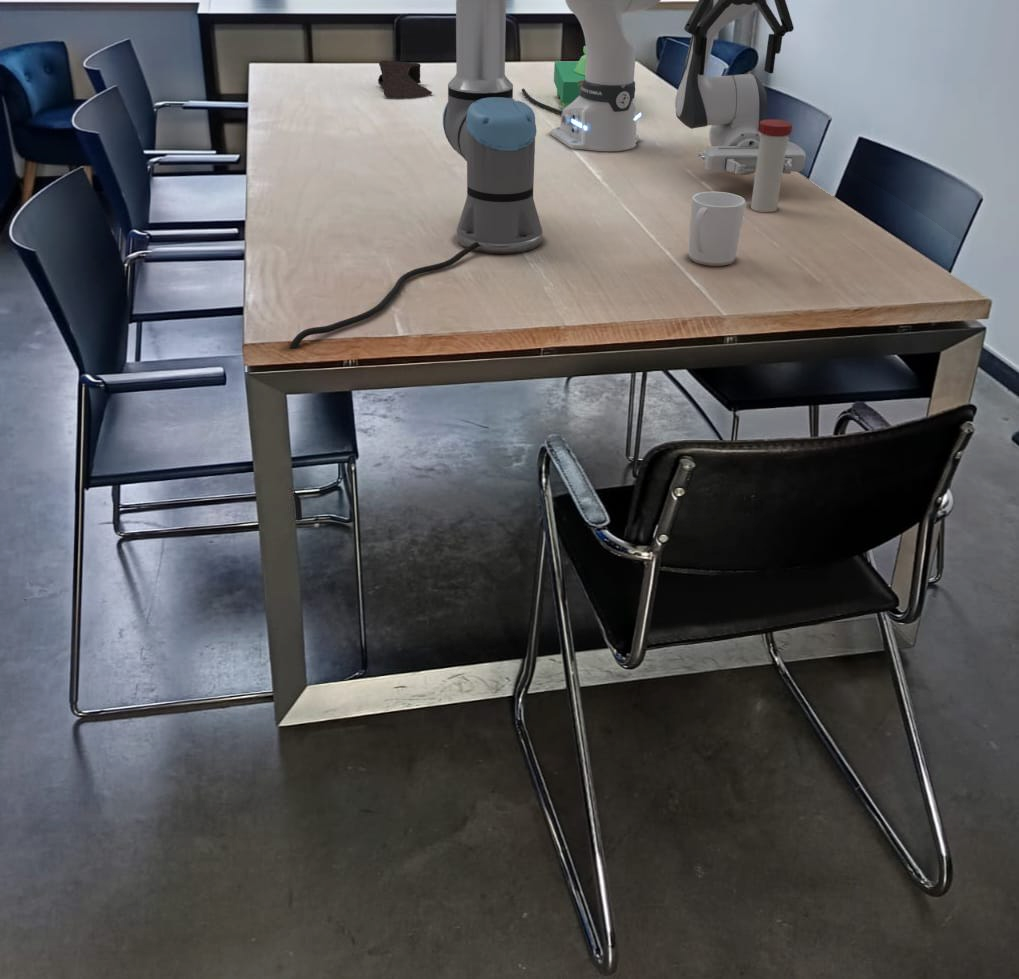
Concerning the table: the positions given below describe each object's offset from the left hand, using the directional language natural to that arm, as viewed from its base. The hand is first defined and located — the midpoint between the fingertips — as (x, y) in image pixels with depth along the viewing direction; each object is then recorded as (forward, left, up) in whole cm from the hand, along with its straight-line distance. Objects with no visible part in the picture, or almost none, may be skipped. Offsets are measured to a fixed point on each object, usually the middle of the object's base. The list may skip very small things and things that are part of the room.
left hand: (734, 73), depth 206 cm
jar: (-3, -9, -24) cm, 26 cm away
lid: (-3, -9, -8) cm, 12 cm away
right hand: (0, -8, -18) cm, 20 cm away
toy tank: (+83, +31, -24) cm, 92 cm away
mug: (-36, +3, -24) cm, 43 cm away
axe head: (+87, +82, -24) cm, 122 cm away
